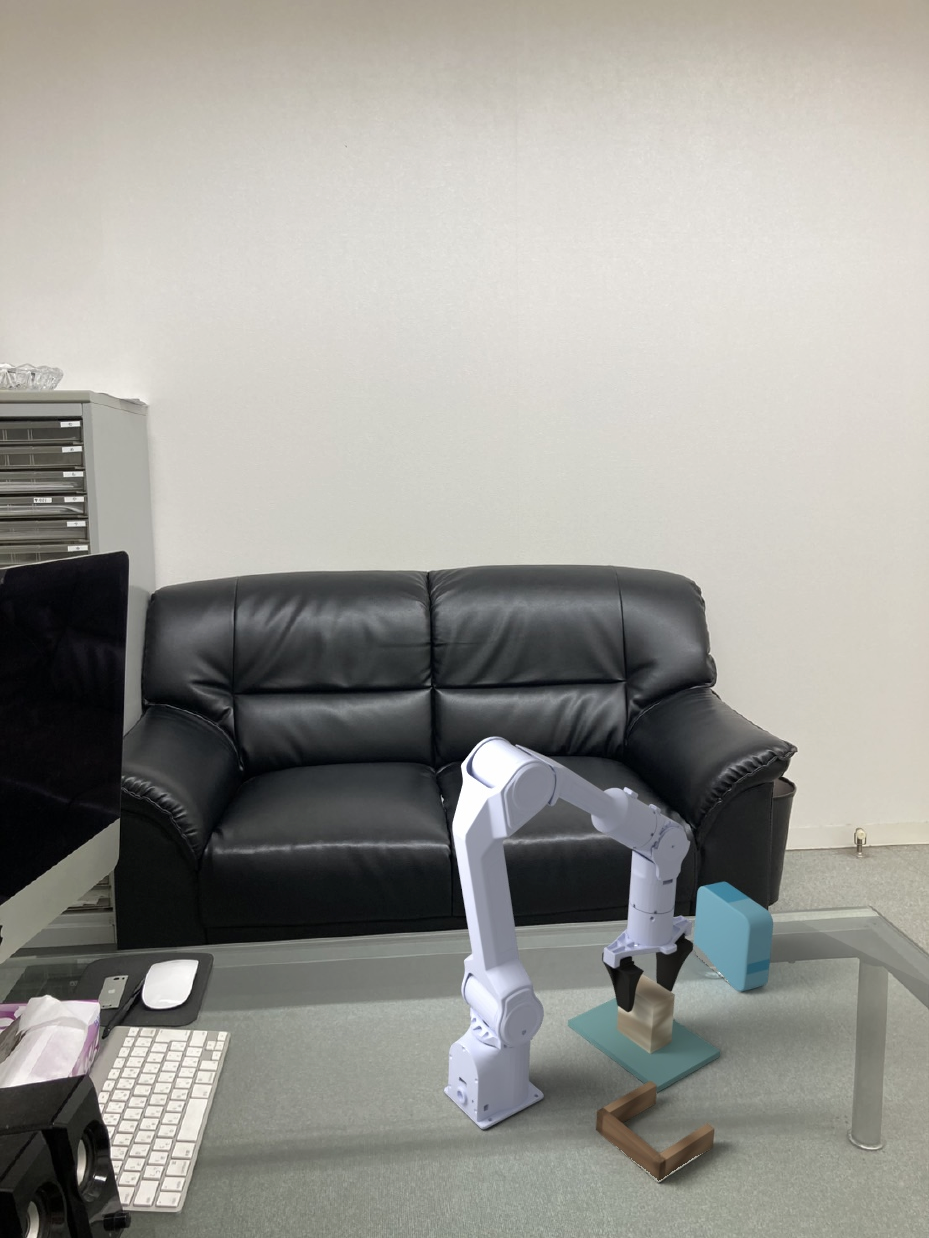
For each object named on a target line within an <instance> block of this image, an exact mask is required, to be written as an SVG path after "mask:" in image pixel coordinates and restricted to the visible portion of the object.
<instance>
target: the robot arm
mask: <svg viewBox="0 0 929 1238" xmlns="http://www.w3.org/2000/svg"><path fill="white" fill-rule="evenodd" d="M460 768H461V773H462V786H461V791H460V793H459V797H458V801H457V805H456V808H455V809H456V810H455V813H454V817H453V821H452V835H453V843H454V846H455V847H454V849H455V855H456V859H457V866H458V873H459V878H460V879H459V880H460V885H461V889H462V897H463V903H464V909H465V916H466V923H467V928H468V929H467V930H468V935H469V942H470V947H471V953H470V955H468V956H467V957H466V958H465V959H464V961H463V964H464V975H463V978H462V979H463V980H462V983H461V987H460V988H461V991H460V992H461V996H462V999H463V1000H464V1002H465V1003H466V1004H467V1005H469V1006H470V1008H469V1010H470V1011H469V1013H470V1014H469V1017H470V1018H471V1019H470V1026H469V1027H468V1030H467V1031H465V1033H464V1035H462V1036H461V1037H460V1038H459V1039H458V1040H456V1041H455V1042H453V1043H452V1044H451V1046H450V1048H449V1051H448V1052H449V1053H448V1076H447V1077H448V1081H447V1083H448V1085H447V1086H445V1087H444V1094H446V1096H448V1098H450V1099H451V1101H453V1102H454V1103H455V1105H456V1106H458V1107H459V1108H460V1109H461V1111H463V1113H465V1114H466V1116H467V1117H468V1118H470V1119H471V1120H472V1121H473V1122H474V1123H475V1125H477V1127H479V1128H480V1129H482V1130H486V1129H488V1128H490V1127H492V1126H493V1125H496V1124H497V1123H500V1122H501V1121H503V1120H505V1119H507V1118H509V1117H511V1116H512V1115H514V1114H517V1113H518V1112H520V1111H522V1110H525V1109H526V1108H527V1107H530V1106H531V1105H534V1104H536V1103H537V1102H539V1101H541V1100H543V1099H544V1093H543V1092H542V1091H541V1090H540V1089H539V1088H537V1087H536V1086H535V1085H534V1084H533V1083H532V1082H531V1081H530V1059H531V1057H530V1056H531V1041H532V1040H533V1038H534V1037H535V1036H536V1034H537V1033H538V1031H539V1030H540V1029H541V1026H542V1025H543V1021H544V1016H545V1011H544V1010H545V1009H544V1006H543V1004H542V1001H541V1000H540V999H539V998H538V997H537V996H536V994H535V991H534V984H533V982H532V980H531V977H530V976H529V974H528V973H527V970H526V968H525V966H524V965H523V963H522V961H521V959H520V953H519V947H518V940H517V933H516V925H515V920H514V919H515V918H514V914H513V913H514V911H513V906H512V899H511V892H510V891H511V890H510V886H509V885H510V884H509V878H508V877H509V876H508V871H507V865H506V864H507V862H506V857H505V856H506V855H505V851H504V850H505V849H504V842H503V841H504V839H507V838H510V837H511V836H513V835H514V834H515V833H516V832H517V831H518V830H520V828H522V827H523V826H524V825H526V823H528V822H529V821H530V820H531V819H533V818H534V816H536V815H537V814H538V813H539V812H541V811H542V810H543V809H544V808H545V806H546V805H548V807H553V806H555V805H556V803H557V801H558V799H561V800H563V801H565V802H567V803H569V804H571V805H572V806H573V805H574V806H575V807H577V808H579V809H580V810H583V811H584V812H587V813H588V814H590V816H591V817H590V818H591V823H592V825H593V826H594V828H595V829H596V830H597V831H598V832H600V833H602V834H603V835H606V836H607V837H609V838H611V839H613V840H614V841H616V842H618V843H620V844H622V845H624V846H625V847H627V848H628V849H631V850H632V854H631V855H632V856H631V869H630V871H631V872H630V882H629V883H630V884H629V896H628V897H629V899H628V912H627V927H626V928H625V929H624V930H623V931H622V932H621V934H619V935H618V937H616V938H615V940H613V942H612V943H610V944H609V945H607V946H605V947H604V948H603V952H602V954H601V962H602V963H603V965H604V966H605V969H606V971H607V972H608V975H609V977H610V980H611V984H612V986H613V991H614V995H615V998H616V1001H617V1005H618V1006H619V1007H620V1008H622V1009H623V1010H625V1011H626V1012H630V1011H632V1009H633V1006H634V1000H635V993H636V988H637V984H638V982H639V979H640V977H641V975H642V974H643V973H644V972H645V970H643V969H642V968H640V967H639V966H637V965H636V964H635V960H633V957H635V956H640V955H648V954H655V957H656V958H655V959H656V960H655V961H656V964H655V965H656V967H655V971H656V972H655V973H656V974H655V977H656V979H655V980H656V983H657V984H659V985H661V986H662V987H664V988H665V989H667V990H668V991H670V992H673V989H674V987H675V984H676V981H677V978H678V977H679V973H680V972H681V971H680V970H681V969H682V967H683V965H684V963H685V961H686V959H687V958H688V956H689V955H690V954H691V953H692V952H693V951H694V947H693V943H694V942H692V941H691V940H690V939H687V938H686V937H688V936H691V935H692V927H693V921H692V920H690V919H689V918H687V917H684V916H683V915H679V916H675V917H674V912H675V904H676V903H675V901H676V889H677V878H678V876H679V874H680V873H681V869H682V868H681V867H682V863H683V860H684V859H685V857H686V856H687V854H688V852H689V849H690V847H691V846H690V845H691V841H690V840H689V839H688V837H687V833H686V831H684V830H685V828H684V827H683V825H681V824H680V823H678V822H677V821H676V820H675V821H674V820H673V819H672V818H669V817H668V816H666V815H664V814H663V813H661V812H662V809H661V808H659V807H658V806H656V805H654V804H652V803H651V804H649V805H648V804H646V803H644V802H643V801H641V800H640V799H638V797H639V794H638V793H637V792H635V791H634V790H633V789H630V788H628V787H626V786H625V787H624V788H623V789H621V788H618V787H611V788H608V789H605V790H604V791H603V790H602V789H600V788H599V787H598V786H596V785H594V784H593V783H591V782H589V781H588V780H587V779H585V778H583V777H582V776H581V775H579V774H577V773H576V772H574V771H572V770H571V769H569V768H568V767H566V766H564V765H562V764H561V763H560V762H557V761H556V760H554V759H552V758H551V757H548V756H545V755H543V754H541V753H539V752H537V751H534V750H532V749H529V748H528V747H525V746H522V745H519V744H515V745H513V744H511V742H510V741H509V740H508V739H505V738H503V737H501V736H490V737H487V738H484V739H482V740H481V741H480V742H478V743H477V744H476V746H474V748H473V749H472V750H471V752H470V753H469V754H468V756H467V757H466V758H465V760H464V761H463V762H462V763H461V766H460ZM643 975H644V974H643Z"/></svg>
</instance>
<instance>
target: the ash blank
mask: <svg viewBox="0 0 929 1238" xmlns="http://www.w3.org/2000/svg"><path fill="white" fill-rule="evenodd" d="M675 998H676V995H675V993H673V991H671V992H670V991H668V990H667V989H665V988H664V987H662V986H661V985H659V984H657V981H654V980H652V978H649V977H648V976H646V975H645V974H642V975H641V977H640V979H639V982H638V984H637V988H636V993H635V1000H634V1006H633V1009H632V1011H630V1012H626V1011H625V1010H623V1009H622V1008H620V1007H619V1006H618V1016H617V1030H618V1031H619V1032H621V1033H622V1034H623V1035H625V1036H626V1037H628V1038H629V1039H630V1040H632V1041H633V1042H634V1043H636V1044H637V1045H639V1046H640V1047H641V1048H643V1049H644V1050H646V1051H647V1052H648V1053H650V1054H651V1053H653V1052H654V1051H656V1050H658V1049H660V1048H662V1047H664V1046H666V1045H667V1044H669V1043H671V1038H672V1025H673V1020H674V1009H675Z"/></svg>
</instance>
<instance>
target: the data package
mask: <svg viewBox="0 0 929 1238" xmlns="http://www.w3.org/2000/svg"><path fill="white" fill-rule="evenodd" d="M696 893H697V894H696V908H695V920H694V933H693V943H695V945H697V947H698V948H700V949H701V951H703V953H705V955H707V957H708V959H710V961H711V962H712V964H714V966H715V967H716V969H718V971H719V972H720V973H721V974H722V975H723V976H724V977H725V978H726V980H728V982H729V983H728V985H730V987H732V988H734V990H736V991H737V992H746V991H749V990H753V989H756V988H760V987H764V986H766V985H767V983H768V980H769V971H770V963H771V962H770V961H771V953H772V952H771V951H772V941H773V930H774V920H773V917H772V914H771V913H770V911H769V910H768V909H766V908H765V907H763V906H762V905H761V904H759V903H757V902H756V901H754V900H753V899H752V898H751V897H749V896H748V895H746V894H745V893H743V892H741V890H739V889H737V888H735V886H733V885H731V884H730V883H729V882H726V881H720V882H715V883H712V884H706V885H703V886H700V887H699V888H698V890H697V892H696Z"/></svg>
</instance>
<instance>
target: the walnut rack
mask: <svg viewBox="0 0 929 1238" xmlns="http://www.w3.org/2000/svg"><path fill="white" fill-rule="evenodd" d="M656 1092H657V1085H656V1084H655V1083H653V1082H652V1081H649V1082H647V1083H646V1084H644V1083H643V1084H641V1086H638V1087H637V1088H635V1089H633V1090H632V1091H629V1092H627V1094H625V1095H623V1096H621V1097H619V1098H617V1099H616V1100H613V1101H611V1102H610V1103H609V1104H607V1105H605V1106H603V1107H602V1108H600V1109H597V1111H596V1121H595V1131H597V1132H598V1133H599V1134H600V1135H601V1136H602V1137H603V1138H605V1140H607V1141H609V1143H611V1144H612V1143H613V1144H614V1145H616V1146H617V1147H618V1148H619V1149H620V1150H622V1151H623V1152H624V1153H625V1154H626V1155H627V1156H628V1157H630V1158H632V1160H633V1161H635V1162H636V1163H637V1164H639V1165H640V1166H642V1167H643V1168H644V1169H646V1171H648V1172H650V1174H651V1175H652V1176H654V1177H655V1178H657V1180H658V1181H659V1180H661V1179H663V1178H664V1177H665V1176H667V1175H669V1174H670V1173H671V1172H672V1171H674V1170H676V1169H677V1168H678V1167H680V1166H682V1165H683V1164H685V1163H687V1162H688V1161H689V1160H691V1159H692V1158H694V1157H695V1156H698V1155H700V1154H702V1153H704V1152H705V1151H707V1150H708V1151H710V1150H712V1149H713V1148H714V1138H715V1137H714V1135H715V1128H714V1127H713V1126H712V1125H711V1124H710V1123H708V1122H707V1123H705V1124H704V1125H702V1126H701V1127H699V1128H698V1129H695V1130H694V1131H693V1132H691V1133H689V1134H688V1135H687V1136H685V1137H683V1138H682V1139H680V1140H679V1141H677V1142H676V1143H673V1144H672V1145H670V1146H669V1147H668V1148H666V1149H664V1150H663V1151H661V1152H660V1153H659V1152H658V1151H657V1150H655V1149H654V1148H653V1147H652V1146H651V1145H650V1144H649V1143H647V1142H646V1141H645V1140H643V1139H642V1138H641V1137H639V1136H638V1135H637V1134H636V1133H635V1132H634V1131H633V1130H631V1129H630V1128H629V1127H627V1126H626V1125H625V1124H624V1123H625V1122H627V1121H629V1120H630V1119H632V1118H634V1117H635V1116H637V1115H639V1114H640V1113H642V1112H644V1111H646V1110H647V1109H649V1108H651V1107H653V1106H654V1105H655V1104H656V1103H657V1093H658V1092H657V1093H656ZM613 1144H612V1145H613ZM614 1145H613V1146H614ZM618 1148H617V1149H618ZM619 1149H618V1150H619ZM709 1149H710V1150H709ZM620 1150H619V1151H620ZM708 1151H707V1152H708ZM705 1153H706V1152H705ZM705 1153H704V1154H705ZM625 1154H624V1155H625ZM626 1155H625V1156H626ZM702 1155H703V1154H702ZM627 1156H626V1157H627ZM628 1157H627V1158H628ZM632 1160H631V1161H632ZM633 1161H632V1162H633Z"/></svg>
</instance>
